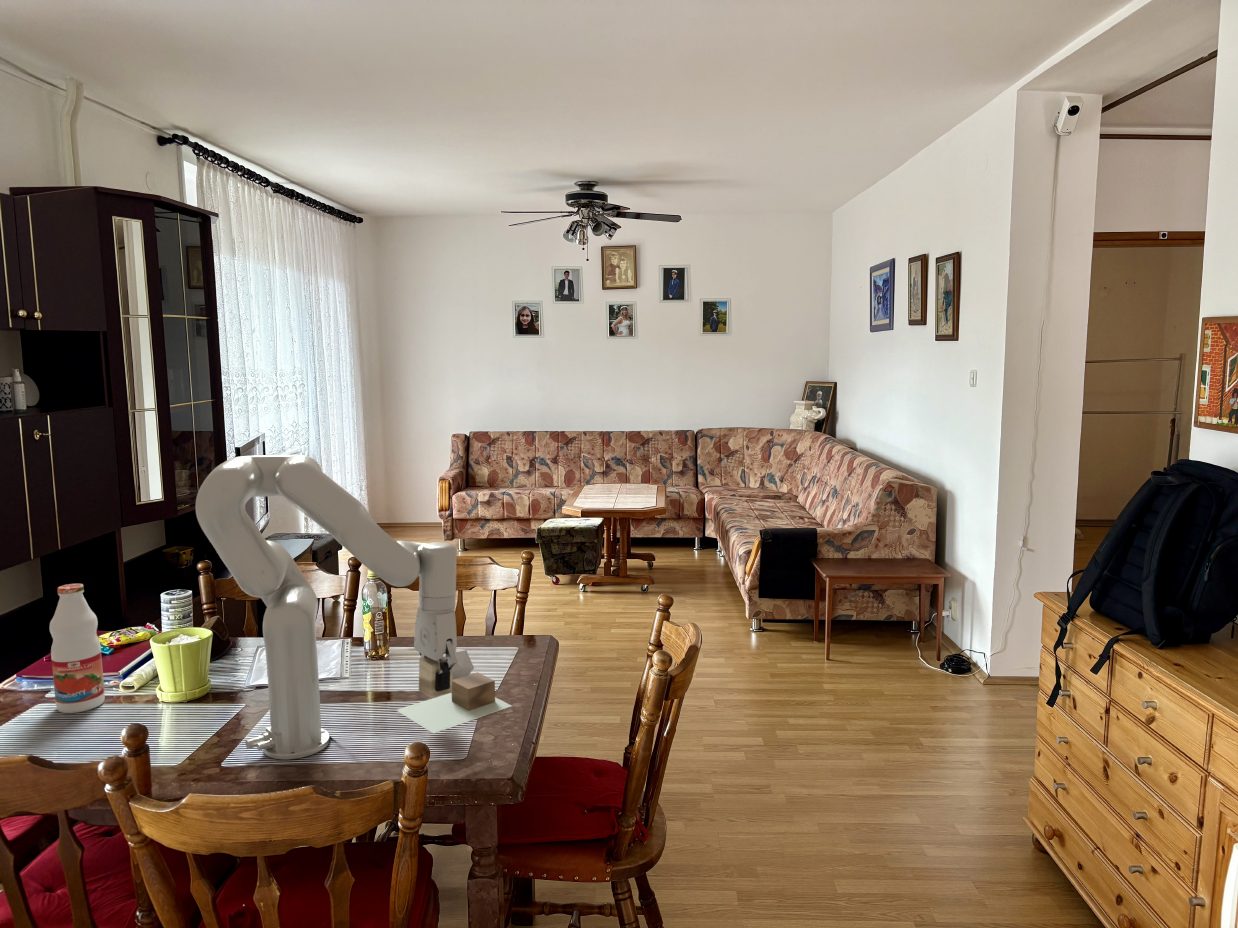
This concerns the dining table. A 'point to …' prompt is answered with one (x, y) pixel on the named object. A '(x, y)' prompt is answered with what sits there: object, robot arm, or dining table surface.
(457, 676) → the die
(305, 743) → the robot arm
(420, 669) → the maple block
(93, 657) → the fruit juice
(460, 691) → the walnut block
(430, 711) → the build board
